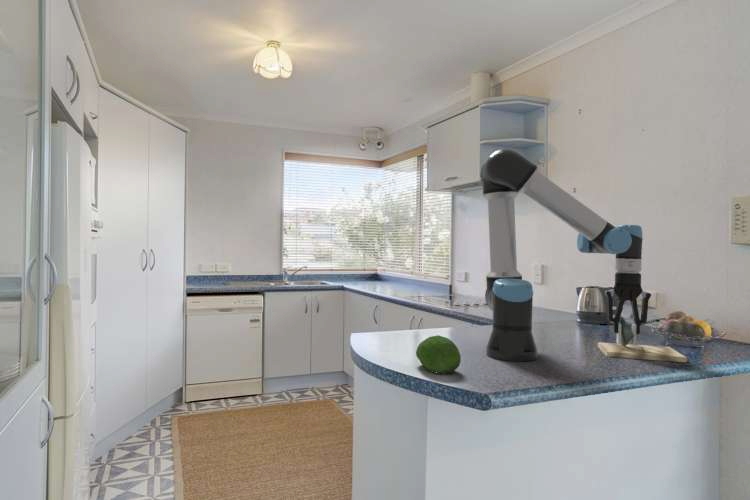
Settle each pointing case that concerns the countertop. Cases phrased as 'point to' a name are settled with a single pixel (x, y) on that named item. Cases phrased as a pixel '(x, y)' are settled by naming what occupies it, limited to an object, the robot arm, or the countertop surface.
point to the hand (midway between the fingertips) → (626, 343)
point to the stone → (625, 332)
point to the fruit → (438, 354)
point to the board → (641, 352)
